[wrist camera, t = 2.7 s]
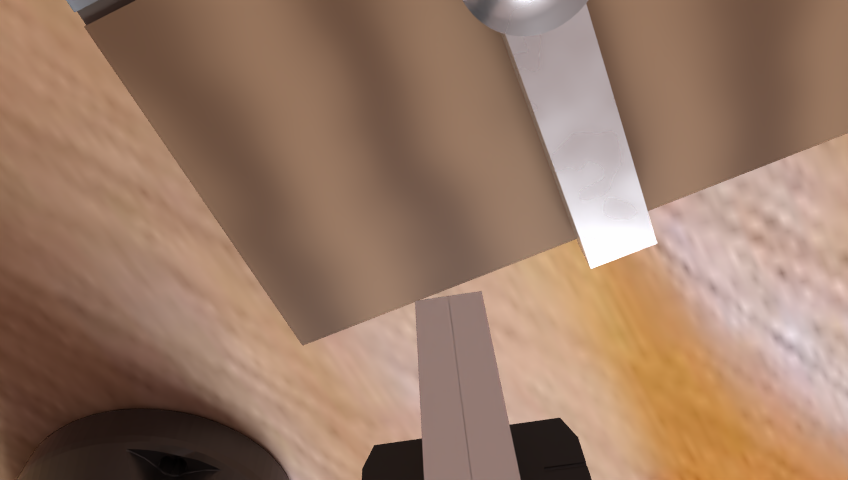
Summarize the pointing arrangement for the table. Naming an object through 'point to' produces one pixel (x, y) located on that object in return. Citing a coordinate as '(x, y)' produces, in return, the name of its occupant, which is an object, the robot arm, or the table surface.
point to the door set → (445, 127)
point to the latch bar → (575, 120)
